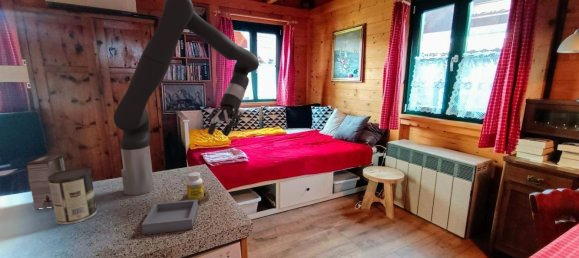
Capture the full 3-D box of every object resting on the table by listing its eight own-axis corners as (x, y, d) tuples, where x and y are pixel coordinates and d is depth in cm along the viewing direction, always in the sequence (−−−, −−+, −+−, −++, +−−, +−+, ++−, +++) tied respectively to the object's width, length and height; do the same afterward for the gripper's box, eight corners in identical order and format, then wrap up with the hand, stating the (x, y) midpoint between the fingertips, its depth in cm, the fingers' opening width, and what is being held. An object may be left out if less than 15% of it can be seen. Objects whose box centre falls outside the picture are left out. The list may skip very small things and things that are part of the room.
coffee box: (50, 198, 96) (42, 155, 93) (71, 196, 97) (64, 154, 94) (34, 210, 87) (24, 163, 84) (57, 207, 89) (49, 161, 86)
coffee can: (82, 206, 90) (76, 166, 87) (105, 211, 86) (99, 169, 84) (47, 221, 80) (38, 177, 78) (70, 227, 77) (62, 181, 74)
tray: (142, 234, 73) (141, 224, 73) (155, 211, 86) (155, 203, 85) (192, 229, 76) (191, 219, 75) (198, 207, 88) (197, 199, 88)
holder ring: (180, 206, 89) (180, 202, 89) (185, 195, 97) (184, 191, 97) (207, 203, 91) (207, 199, 91) (209, 193, 99) (209, 189, 99)
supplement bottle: (201, 195, 98) (199, 170, 96) (205, 200, 93) (204, 174, 92) (186, 198, 95) (184, 173, 93) (190, 204, 91) (187, 177, 89)
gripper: (214, 93, 106) (197, 129, 101) (239, 91, 98) (223, 131, 93) (226, 102, 112) (211, 137, 106) (251, 102, 104) (237, 140, 98)
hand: (217, 134), depth 100 cm, fingers open, 8 cm apart
